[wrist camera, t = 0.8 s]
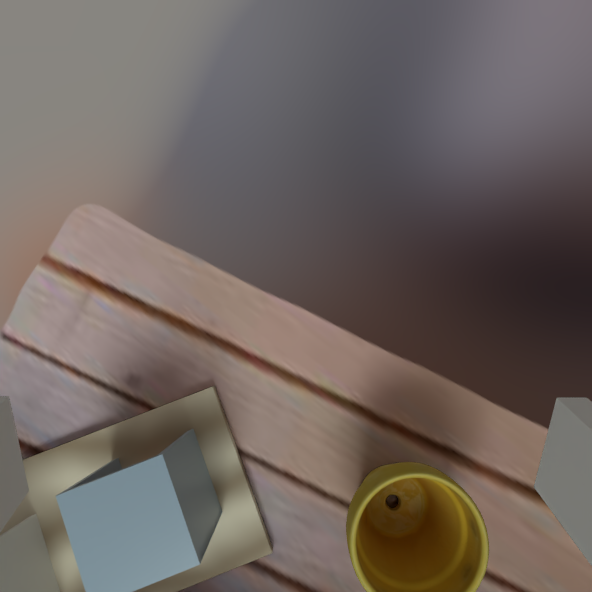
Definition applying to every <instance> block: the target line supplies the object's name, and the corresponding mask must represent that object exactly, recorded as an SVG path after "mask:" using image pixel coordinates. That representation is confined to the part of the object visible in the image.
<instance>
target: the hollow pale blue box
mask: <svg viewBox="0 0 592 592" xmlns="http://www.w3.org/2000/svg"><path fill="white" fill-rule="evenodd" d="M56 499H57V502H58V505H59V508H60V512H61V515H62V518H63V521H64V524H65V527H66V531H67V534H68V537H69V540H70V543H71V547H72V550H73V553H74V556H75V559H76V563H77V566H78V569H79V572H80V575H81V578H82V582H83V585H84V588H85V591H86V592H133V591H136V590H138V589H141V588H143V587H145V586H148V585H150V584H153V583H155V582H158V581H160V580H163V579H165V578H168V577H170V576H173V575H175V574H178V573H180V572H183V571H185V570H188V569H190V568H192V567H195V566H197V565H200V563H201V561H202V559H203V556H204V554H205V552H206V549H207V547H208V545H209V542H210V540H211V538H212V535H213V533H214V531H215V528H216V526H217V524H218V521H219V519H220V517H221V514H222V509H221V506H220V503H219V500H218V497H217V495H216V492H215V489H214V486H213V483H212V480H211V477H210V475H209V472H208V469H207V466H206V463H205V460H204V457H203V455H202V452H201V449H200V446H199V443H198V440H197V438H196V435H195V432H194V429H191V430H189V431H187V432H185V433H184V434H183V435H182V436H180V437H179V438H178V439H177V440H175V441H174V442H173V443H172V444H170V445H169V446H168V447H167V448H165V449H164V450H163V451H162V452H160V453H159V454H158V455H156V456H154V457H151V458H149V459H146V460H144V461H141V462H139V463H136V464H133V465H131V466H128V467H126V468H123V469H122V467H121V464H120V461H119V458H117V459H114V460H112V461H110V462H109V463H107V464H106V465H104V466H102V467H101V468H99V469H98V470H96V471H94V472H93V473H91V474H90V475H88V476H87V477H85V478H83V479H82V480H80V481H79V482H77V483H75V484H74V485H72V486H71V487H69V488H68V489H66V490H64V491H63V492H61V493H60V494H58V495H56Z"/></svg>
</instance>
